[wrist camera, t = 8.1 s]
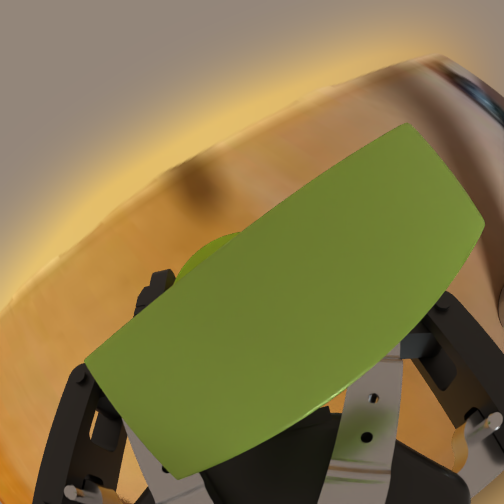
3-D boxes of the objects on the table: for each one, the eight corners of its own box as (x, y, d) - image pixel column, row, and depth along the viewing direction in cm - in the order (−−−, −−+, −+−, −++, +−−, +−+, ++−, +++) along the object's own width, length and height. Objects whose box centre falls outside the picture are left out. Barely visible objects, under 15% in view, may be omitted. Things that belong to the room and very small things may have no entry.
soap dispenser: (326, 303, 22) (554, 324, 2) (254, 357, 22) (191, 582, 2) (279, 244, 23) (318, 17, 3) (209, 298, 23) (-29, 293, 3)
